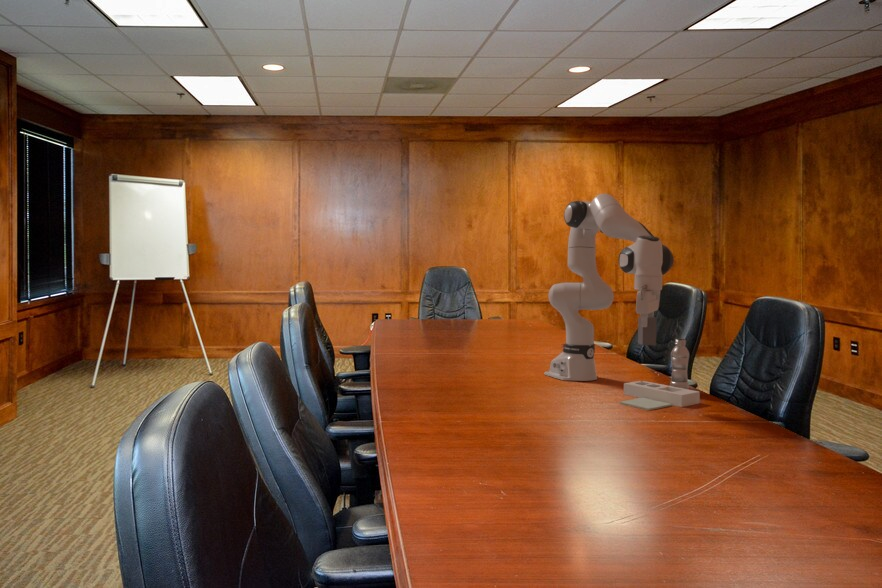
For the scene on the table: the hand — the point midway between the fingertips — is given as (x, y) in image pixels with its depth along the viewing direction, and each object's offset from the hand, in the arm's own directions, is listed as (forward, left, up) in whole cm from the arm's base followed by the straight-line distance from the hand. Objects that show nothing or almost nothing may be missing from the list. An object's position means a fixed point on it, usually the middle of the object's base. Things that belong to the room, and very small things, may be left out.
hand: (647, 325), depth 221 cm
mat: (0, 0, -27) cm, 27 cm away
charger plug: (0, 0, -6) cm, 6 cm away
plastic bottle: (-4, +24, -27) cm, 36 cm away
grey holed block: (-3, +12, -27) cm, 29 cm away
